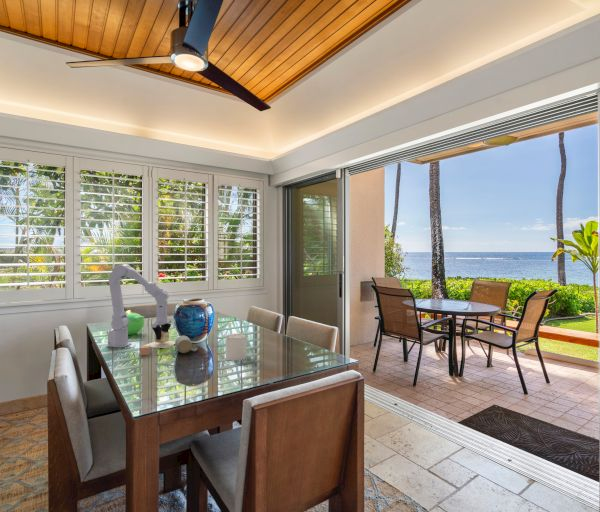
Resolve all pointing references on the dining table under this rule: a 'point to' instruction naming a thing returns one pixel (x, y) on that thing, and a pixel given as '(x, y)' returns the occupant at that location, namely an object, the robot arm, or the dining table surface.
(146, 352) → the terracotta block
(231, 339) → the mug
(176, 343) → the ceramic mug
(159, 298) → the robot arm
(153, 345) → the trivet
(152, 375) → the dining table surface
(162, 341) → the oak cube
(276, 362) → the dining table surface
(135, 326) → the green rounded piece
